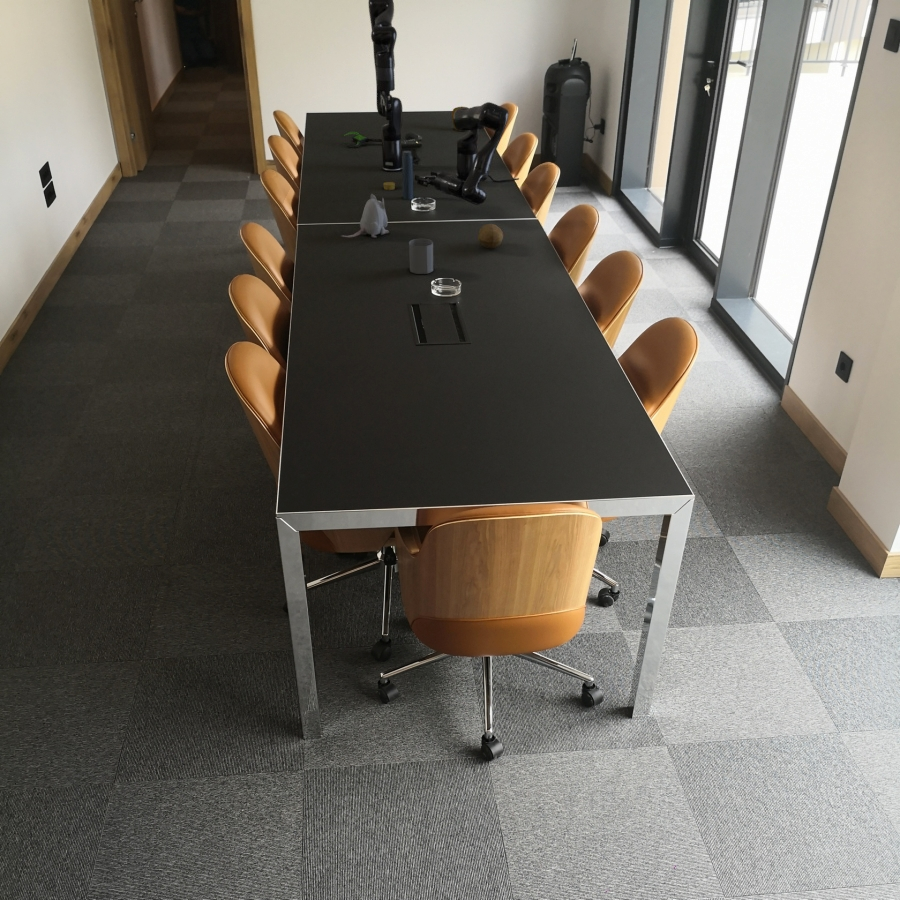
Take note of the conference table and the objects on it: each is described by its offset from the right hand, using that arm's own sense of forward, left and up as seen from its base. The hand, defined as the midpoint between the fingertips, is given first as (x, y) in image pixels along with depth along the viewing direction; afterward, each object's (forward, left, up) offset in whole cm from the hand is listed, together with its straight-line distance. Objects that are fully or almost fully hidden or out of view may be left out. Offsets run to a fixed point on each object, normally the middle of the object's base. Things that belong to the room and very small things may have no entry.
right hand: (423, 175), depth 367 cm
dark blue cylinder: (0, -11, -12) cm, 17 cm away
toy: (+45, +20, -12) cm, 51 cm away
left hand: (-3, -29, +18) cm, 34 cm away
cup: (+49, +61, -12) cm, 79 cm away
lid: (-3, -29, -10) cm, 31 cm away
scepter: (-43, -100, -12) cm, 110 cm away
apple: (-102, -95, -12) cm, 140 cm away
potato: (+15, +59, -12) cm, 62 cm away
